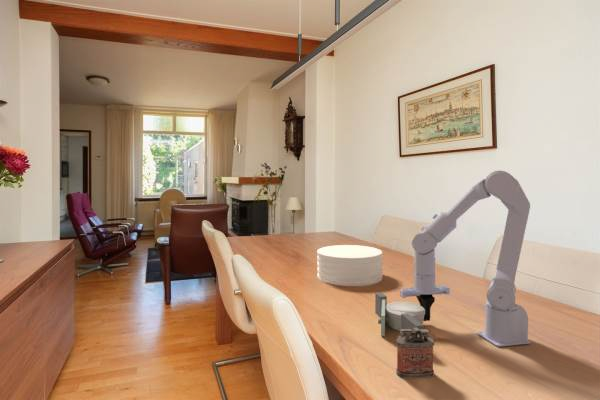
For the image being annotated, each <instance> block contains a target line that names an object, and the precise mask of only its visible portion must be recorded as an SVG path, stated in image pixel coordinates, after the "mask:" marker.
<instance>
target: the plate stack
mask: <svg viewBox="0 0 600 400" xmlns="http://www.w3.org/2000/svg"><path fill="white" fill-rule="evenodd" d="M316 255H317V256H316V258H317V259H316V260H317V262H316V265H317V268H316V272H317V274H316V276H317V277H316V278H317V279H318V280H319V281H321V282H323V283H326V284H329V285H335V286H345V287H364V286H370V285H375V284H378V283H380V282H382V280H383V250H381V249H379V248H376V247H373V246H367V245H356V244H340V245H339V244H337V245H335V244H334V245H328V246H323V247H320V248H318V249H317V251H316Z"/></svg>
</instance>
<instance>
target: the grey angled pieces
mask: <svg viewBox="0 0 600 400" xmlns="http://www.w3.org/2000/svg"><path fill="white" fill-rule="evenodd" d="M374 297H375V302H374V303H375V307H374V308H375V309H374V310H375V315H376V316H378V317H379V318H380V319H381V308H382V299H385V306H386V305H387V304H388V303H387V299H388V298H387V297H388V296H387V295H386V294H384V293H383V292H375V296H374ZM385 318H387V315H386V311H385ZM424 326H425V325H424V323H423V324H421V323H420V322H419V321H418V320H416V319H415V318H414V317H412V316H411V315H410V314H409V313H405V314H401V329H411V330H413V328H415V327H417V328H418V329H419V330H420V329H425V328H424ZM400 338H404V337H401V336H400Z"/></svg>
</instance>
